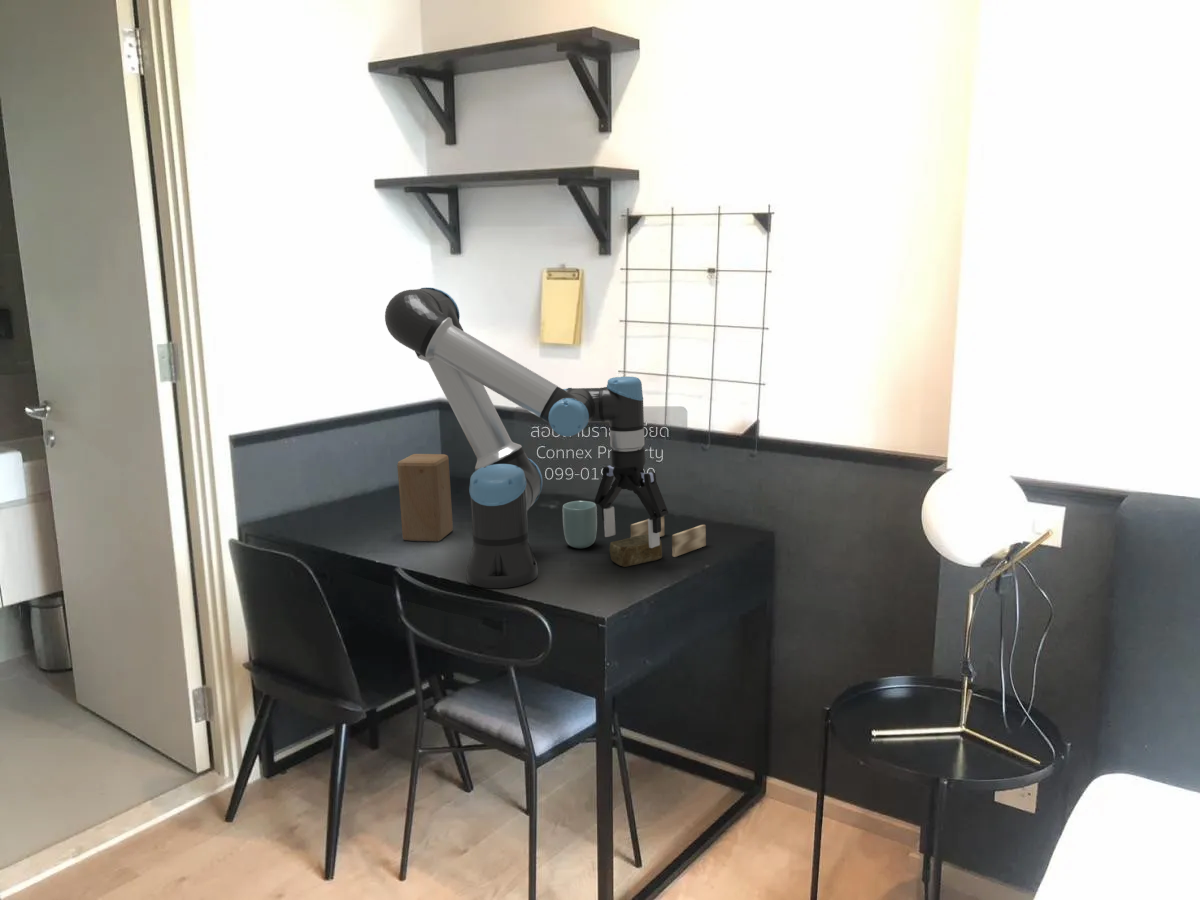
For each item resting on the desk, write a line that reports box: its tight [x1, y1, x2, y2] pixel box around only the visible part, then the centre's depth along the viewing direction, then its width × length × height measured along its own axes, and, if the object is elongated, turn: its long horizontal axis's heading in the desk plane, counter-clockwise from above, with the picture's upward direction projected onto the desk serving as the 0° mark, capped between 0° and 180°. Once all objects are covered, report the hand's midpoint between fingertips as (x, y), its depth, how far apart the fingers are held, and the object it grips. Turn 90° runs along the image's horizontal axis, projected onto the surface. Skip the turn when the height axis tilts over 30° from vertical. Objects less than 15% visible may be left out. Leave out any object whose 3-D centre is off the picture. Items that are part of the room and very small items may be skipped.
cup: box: [562, 500, 598, 549], centre depth 215 cm, size 8×8×10 cm
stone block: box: [609, 534, 663, 568], centre depth 205 cm, size 6×12×5 cm, turn 123°
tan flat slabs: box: [630, 516, 707, 558], centre depth 214 cm, size 11×14×5 cm
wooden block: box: [396, 453, 454, 542], centre depth 226 cm, size 10×10×20 cm
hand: (631, 541), depth 205 cm, fingers open, 13 cm apart
